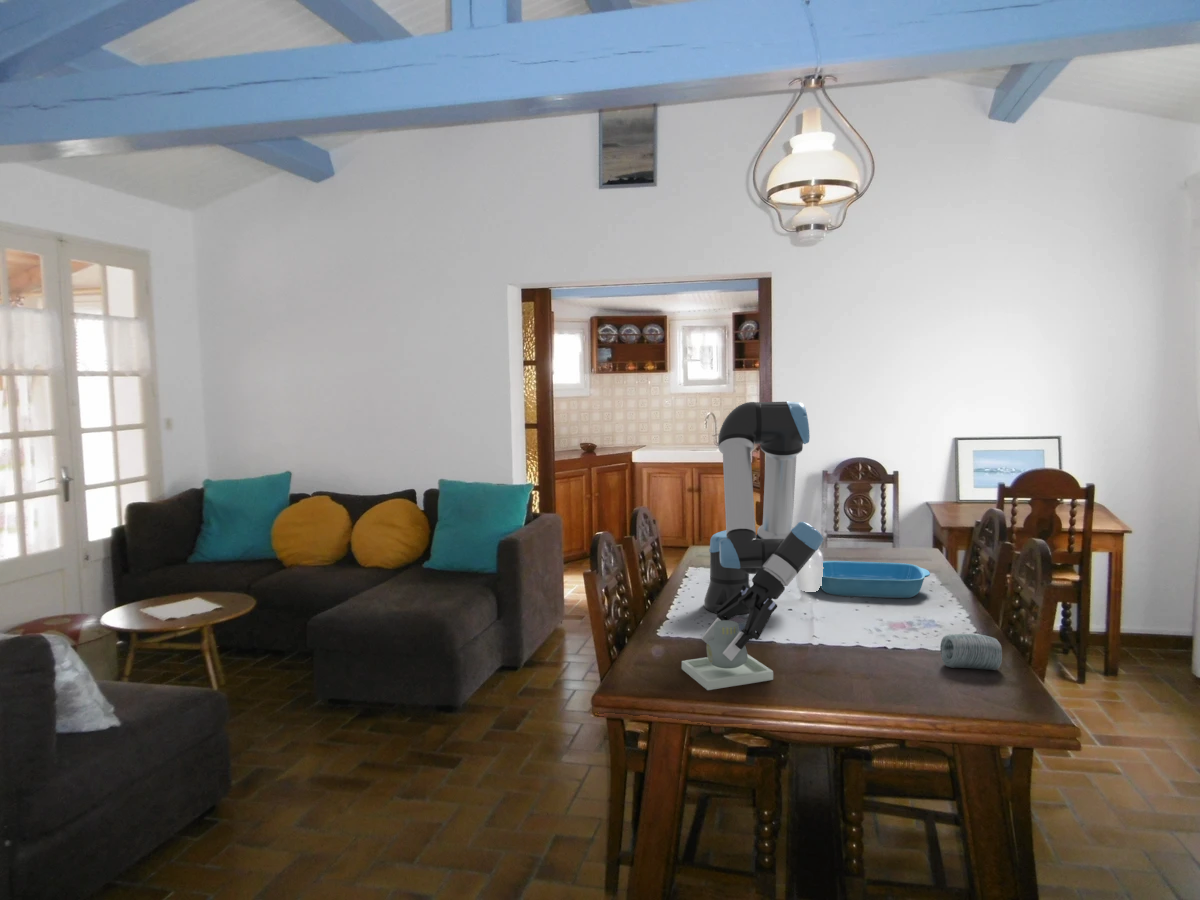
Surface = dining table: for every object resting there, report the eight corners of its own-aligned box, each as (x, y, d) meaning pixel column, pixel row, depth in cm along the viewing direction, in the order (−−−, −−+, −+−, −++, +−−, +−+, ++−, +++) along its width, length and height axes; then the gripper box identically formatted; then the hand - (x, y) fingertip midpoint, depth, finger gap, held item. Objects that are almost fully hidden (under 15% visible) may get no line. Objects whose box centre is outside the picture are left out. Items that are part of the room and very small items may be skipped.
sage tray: (681, 670, 200) (681, 660, 200) (743, 661, 206) (743, 651, 206) (707, 692, 187) (707, 681, 187) (773, 681, 193) (773, 671, 192)
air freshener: (704, 657, 202) (704, 617, 200) (738, 655, 202) (738, 615, 201) (714, 674, 191) (714, 632, 190) (749, 672, 191) (749, 630, 190)
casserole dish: (809, 597, 259) (809, 575, 258) (808, 579, 281) (809, 558, 280) (934, 603, 250) (935, 580, 250) (924, 584, 272) (924, 562, 271)
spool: (938, 660, 194) (949, 619, 197) (933, 664, 203) (943, 626, 205) (1000, 680, 190) (1010, 639, 192) (992, 684, 198) (1001, 644, 201)
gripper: (810, 600, 189) (750, 675, 185) (758, 575, 210) (703, 643, 207) (790, 579, 186) (728, 656, 183) (740, 557, 208) (684, 625, 205)
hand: (715, 649), depth 195 cm, fingers closed on air freshener, 10 cm apart
